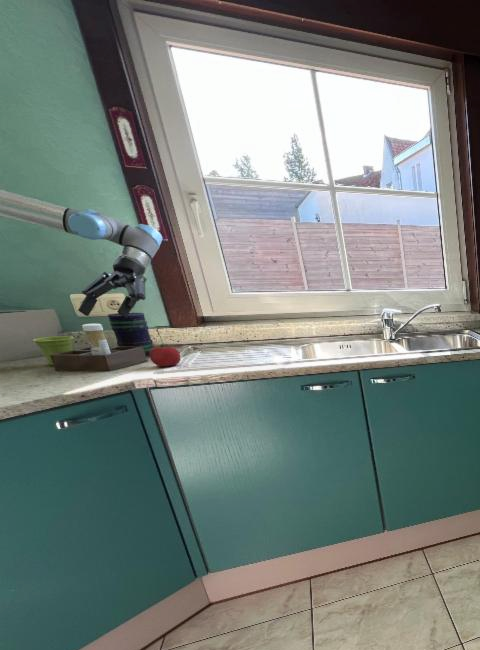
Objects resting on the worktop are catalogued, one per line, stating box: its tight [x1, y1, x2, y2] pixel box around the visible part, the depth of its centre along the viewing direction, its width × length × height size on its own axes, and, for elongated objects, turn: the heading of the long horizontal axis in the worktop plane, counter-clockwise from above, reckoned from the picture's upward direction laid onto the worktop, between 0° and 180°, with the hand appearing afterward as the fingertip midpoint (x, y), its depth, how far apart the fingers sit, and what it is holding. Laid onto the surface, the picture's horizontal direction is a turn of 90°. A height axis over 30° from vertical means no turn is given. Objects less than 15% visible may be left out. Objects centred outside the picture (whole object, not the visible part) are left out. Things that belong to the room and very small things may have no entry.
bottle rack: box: [50, 345, 148, 372], centre depth 164 cm, size 16×16×5 cm
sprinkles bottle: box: [81, 323, 111, 355], centre depth 159 cm, size 5×5×13 cm
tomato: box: [149, 343, 182, 368], centre depth 166 cm, size 8×8×7 cm
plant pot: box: [32, 335, 75, 367], centre depth 164 cm, size 9×9×9 cm
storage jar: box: [107, 312, 156, 358], centre depth 178 cm, size 10×10×15 cm
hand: (102, 314), depth 160 cm, fingers open, 13 cm apart
